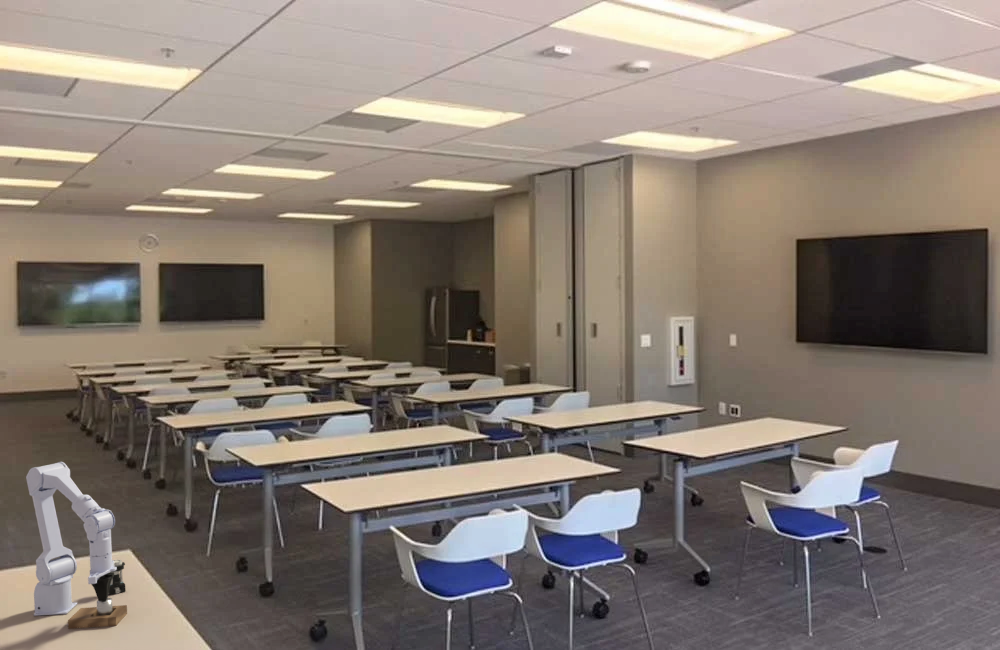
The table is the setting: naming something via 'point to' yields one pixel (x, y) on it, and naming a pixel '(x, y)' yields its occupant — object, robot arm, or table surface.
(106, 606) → the brushed metal cylinder
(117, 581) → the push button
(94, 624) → the jig
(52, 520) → the robot arm
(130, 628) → the table surface
